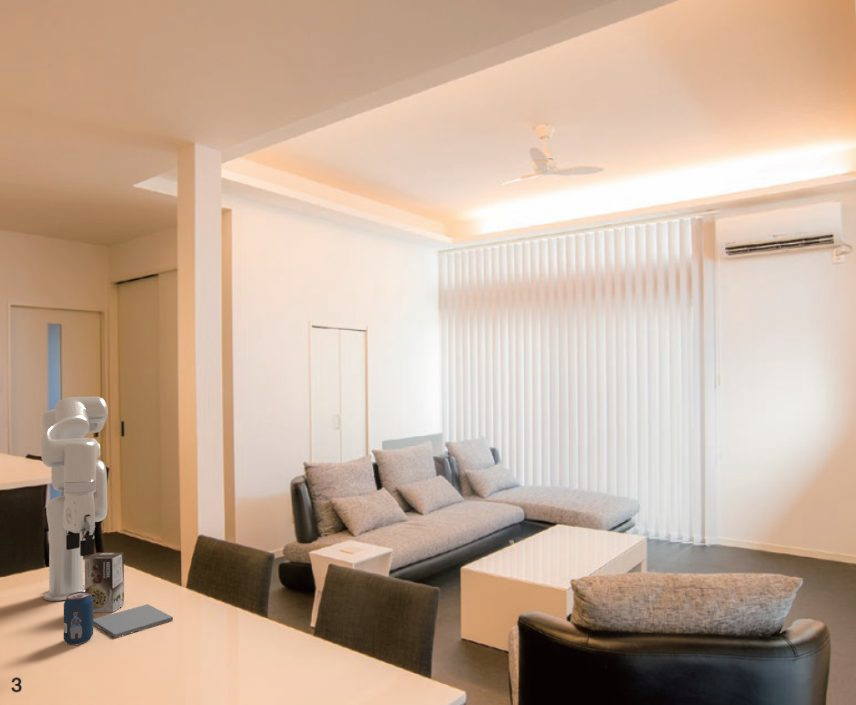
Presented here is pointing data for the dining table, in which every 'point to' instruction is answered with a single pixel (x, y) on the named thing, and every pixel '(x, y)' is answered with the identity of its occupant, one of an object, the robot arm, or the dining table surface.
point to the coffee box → (105, 580)
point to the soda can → (78, 618)
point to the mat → (131, 620)
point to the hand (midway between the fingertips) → (79, 551)
